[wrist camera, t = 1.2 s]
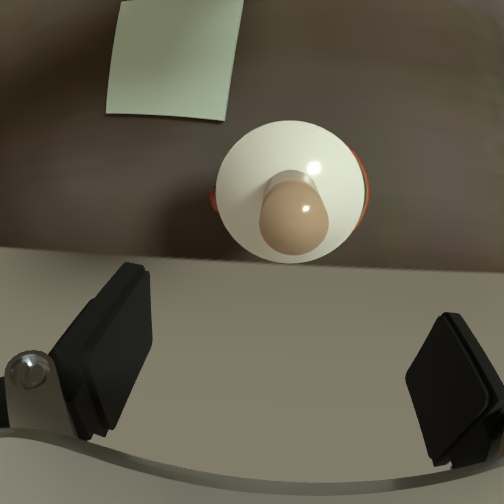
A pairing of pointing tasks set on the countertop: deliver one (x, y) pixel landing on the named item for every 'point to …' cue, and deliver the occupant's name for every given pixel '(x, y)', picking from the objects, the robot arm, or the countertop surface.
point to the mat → (174, 57)
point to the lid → (290, 191)
